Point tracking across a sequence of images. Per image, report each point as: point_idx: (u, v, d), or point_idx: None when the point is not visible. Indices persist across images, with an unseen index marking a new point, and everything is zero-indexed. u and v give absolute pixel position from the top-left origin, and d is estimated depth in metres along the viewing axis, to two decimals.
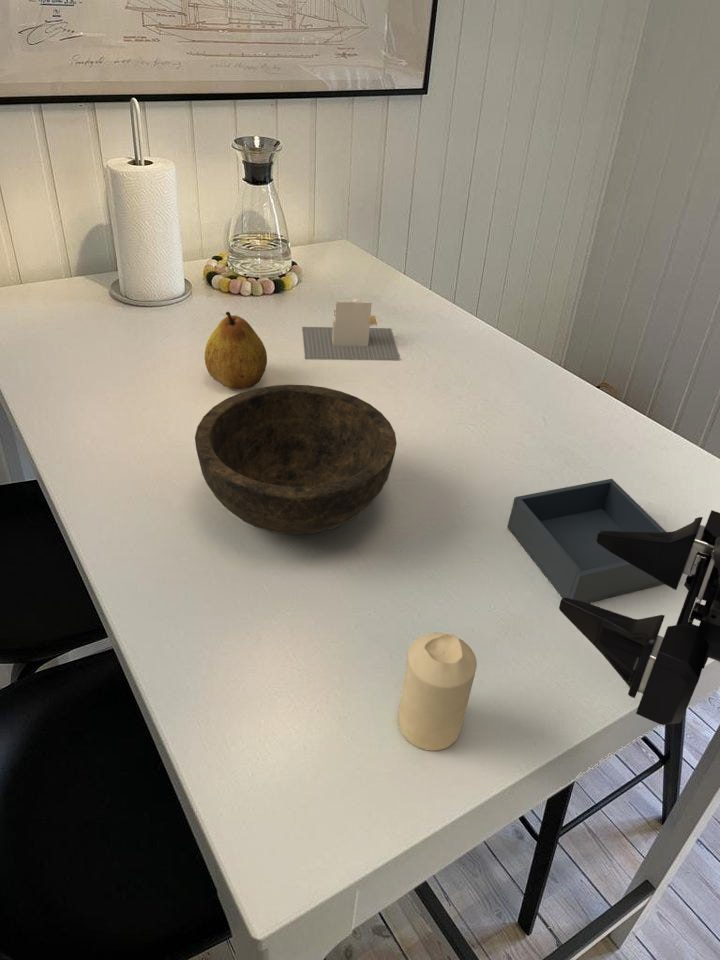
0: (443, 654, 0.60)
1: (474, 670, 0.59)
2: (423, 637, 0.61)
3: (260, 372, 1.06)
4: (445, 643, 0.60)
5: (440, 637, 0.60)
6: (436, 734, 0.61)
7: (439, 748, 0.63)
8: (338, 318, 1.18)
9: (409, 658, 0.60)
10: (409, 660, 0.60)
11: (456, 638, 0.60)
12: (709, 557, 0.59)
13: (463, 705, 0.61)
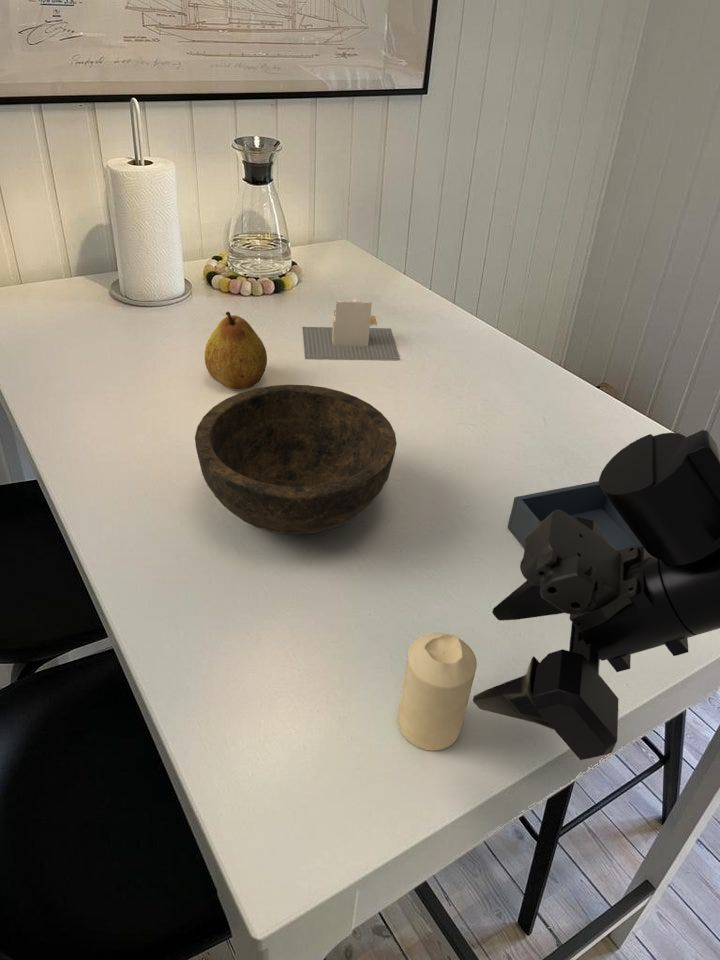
0: (443, 654, 0.60)
1: (474, 670, 0.59)
2: (423, 637, 0.61)
3: (260, 372, 1.06)
4: (445, 643, 0.60)
5: (440, 637, 0.60)
6: (436, 734, 0.61)
7: (439, 748, 0.63)
8: (338, 318, 1.18)
9: (409, 658, 0.60)
10: (409, 660, 0.60)
11: (456, 638, 0.60)
12: None
13: (463, 705, 0.61)
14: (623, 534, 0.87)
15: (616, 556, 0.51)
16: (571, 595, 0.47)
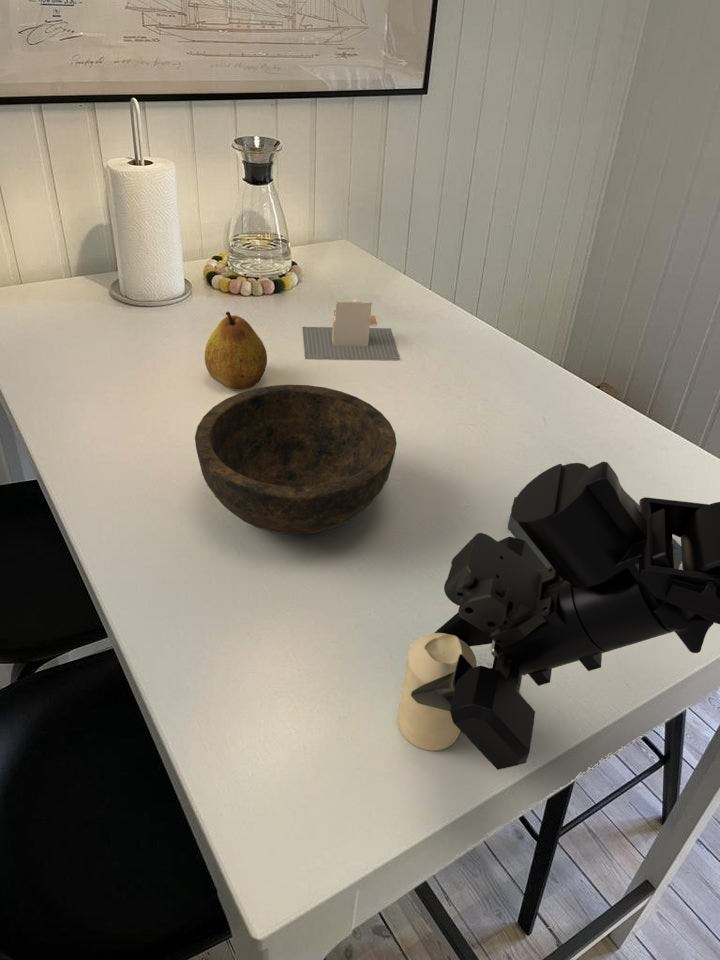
0: (443, 655, 0.60)
1: None
2: (423, 637, 0.61)
3: (260, 372, 1.06)
4: (445, 643, 0.60)
5: (440, 637, 0.60)
6: (436, 734, 0.61)
7: (439, 748, 0.63)
8: (338, 318, 1.18)
9: (409, 658, 0.60)
10: (409, 660, 0.60)
11: (456, 638, 0.60)
12: None
13: None
14: None
15: (536, 576, 0.54)
16: (486, 615, 0.50)
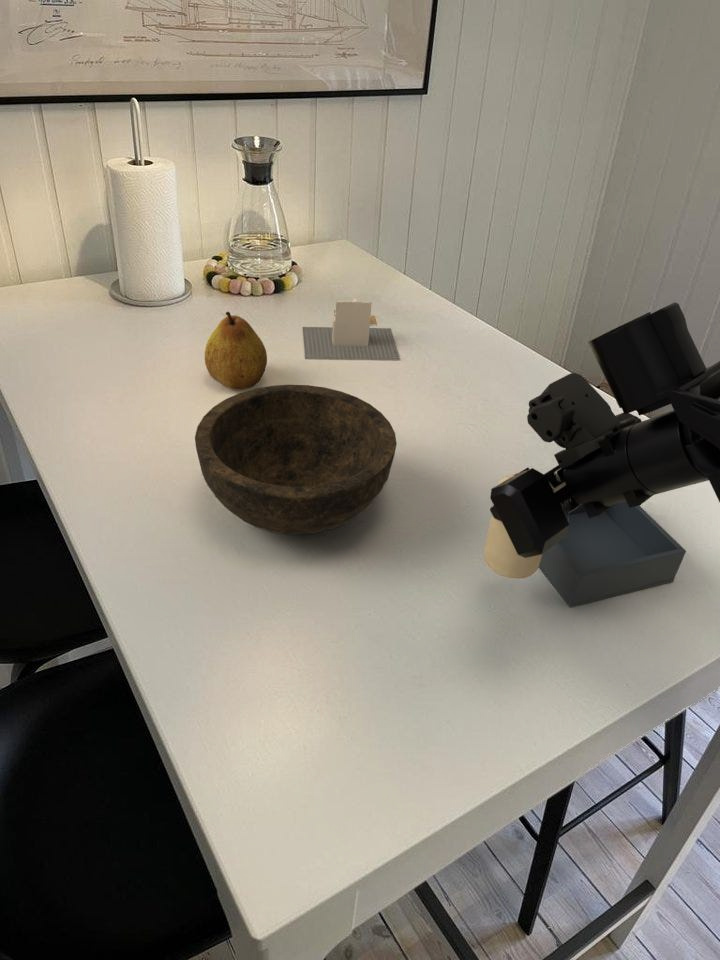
0: None
1: None
2: None
3: (260, 372, 1.06)
4: None
5: None
6: (506, 557, 0.71)
7: (508, 575, 0.72)
8: (338, 318, 1.18)
9: (499, 481, 0.70)
10: (499, 483, 0.70)
11: None
12: None
13: None
14: (623, 534, 0.87)
15: (613, 421, 0.61)
16: (546, 423, 0.59)
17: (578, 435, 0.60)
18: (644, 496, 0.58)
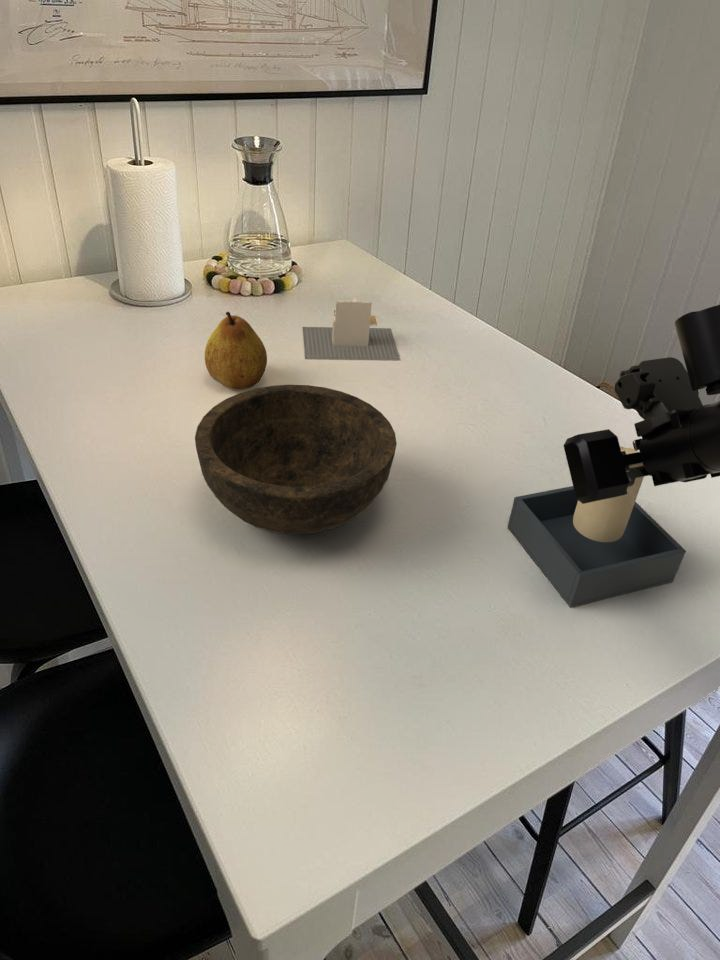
0: None
1: None
2: None
3: (260, 372, 1.06)
4: None
5: (628, 448, 0.77)
6: (588, 518, 0.79)
7: (587, 536, 0.80)
8: (338, 318, 1.18)
9: None
10: None
11: None
12: None
13: (614, 503, 0.76)
14: (623, 534, 0.87)
15: (696, 404, 0.67)
16: (627, 391, 0.67)
17: (656, 408, 0.67)
18: (701, 471, 0.64)
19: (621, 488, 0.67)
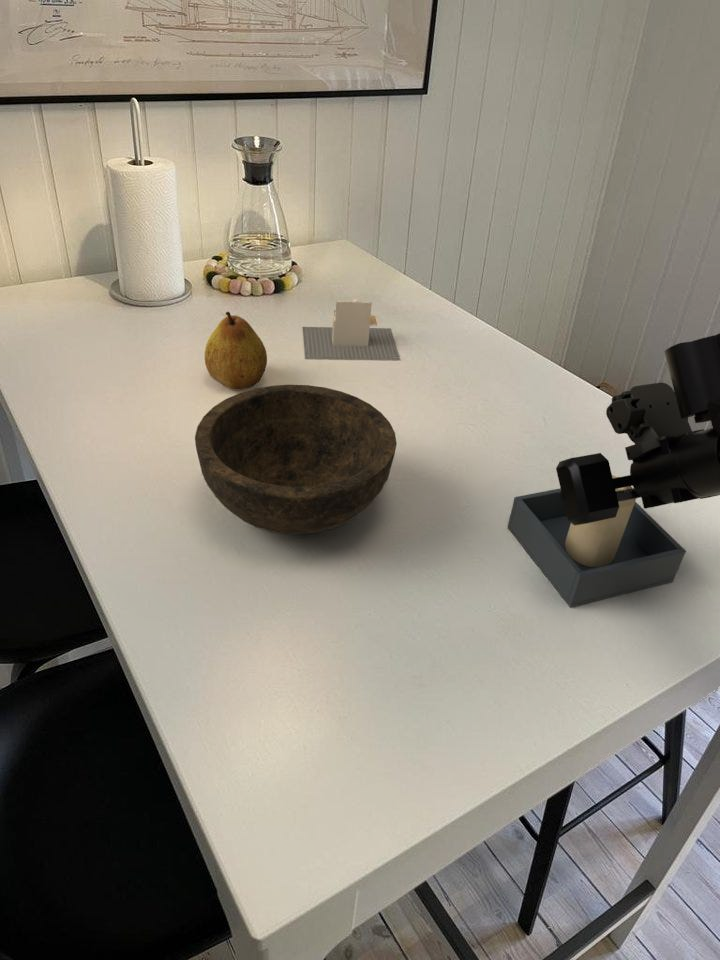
0: None
1: (622, 506, 0.77)
2: None
3: (260, 372, 1.06)
4: None
5: None
6: (579, 544, 0.81)
7: (579, 561, 0.82)
8: (338, 318, 1.18)
9: None
10: None
11: None
12: None
13: (605, 531, 0.79)
14: (623, 534, 0.87)
15: (685, 429, 0.69)
16: (619, 416, 0.69)
17: (646, 433, 0.69)
18: (689, 496, 0.66)
19: (611, 511, 0.69)
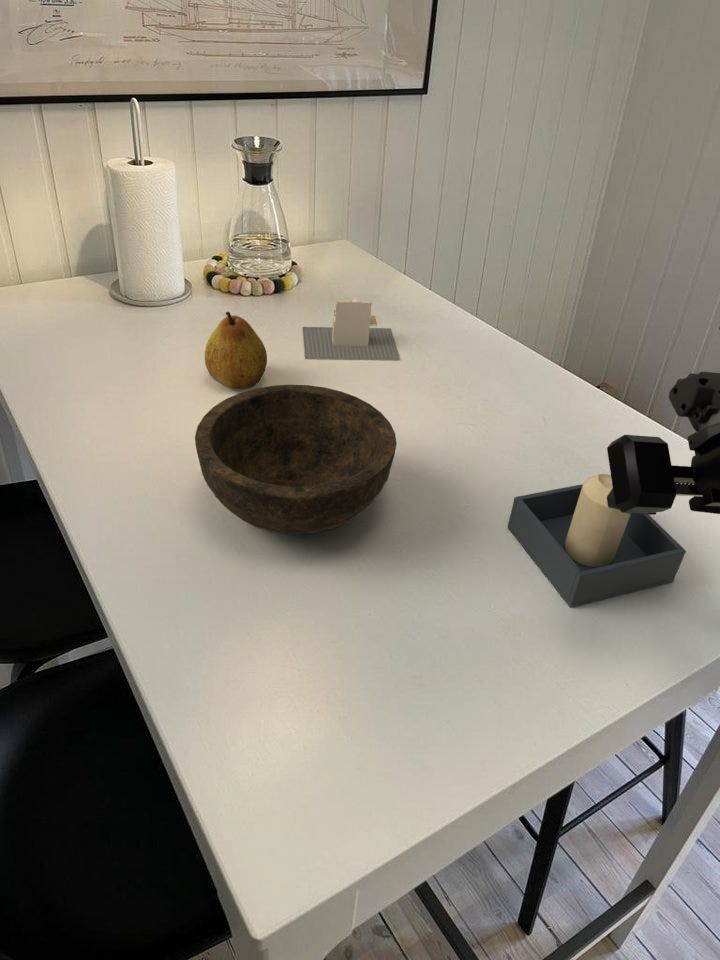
0: (610, 486, 0.78)
1: None
2: None
3: (260, 372, 1.06)
4: None
5: None
6: (579, 544, 0.81)
7: (579, 561, 0.82)
8: (338, 318, 1.18)
9: (588, 478, 0.80)
10: None
11: None
12: None
13: (605, 531, 0.79)
14: (623, 534, 0.87)
15: None
16: (683, 396, 0.62)
17: (713, 417, 0.61)
18: None
19: (667, 498, 0.60)
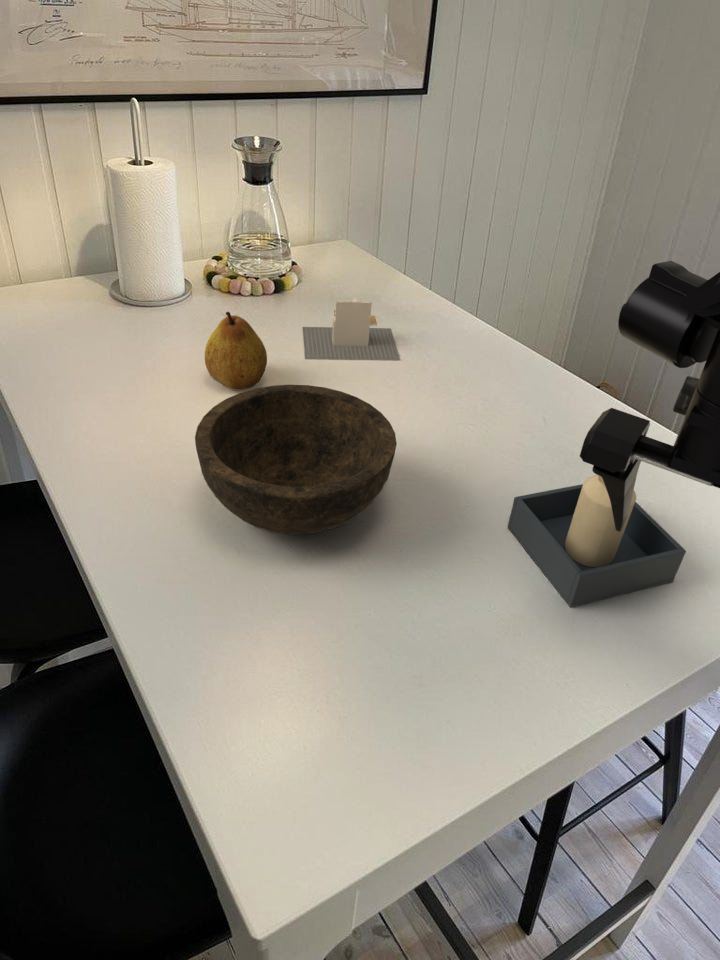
0: None
1: None
2: None
3: (260, 372, 1.06)
4: None
5: None
6: (579, 544, 0.81)
7: (579, 561, 0.82)
8: (338, 318, 1.18)
9: (588, 478, 0.80)
10: None
11: None
12: None
13: (605, 531, 0.79)
14: (623, 534, 0.87)
15: None
16: None
17: None
18: (704, 413, 0.56)
19: (624, 445, 0.61)
